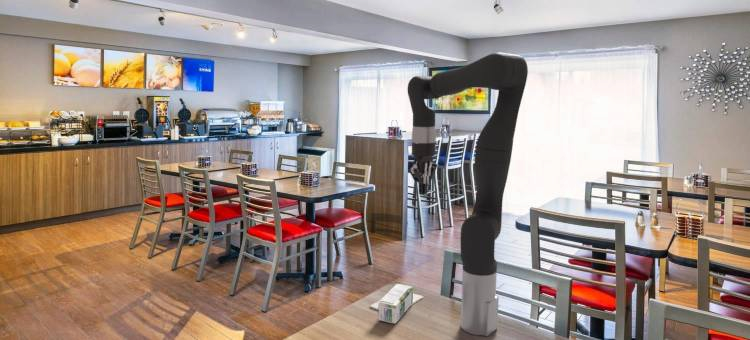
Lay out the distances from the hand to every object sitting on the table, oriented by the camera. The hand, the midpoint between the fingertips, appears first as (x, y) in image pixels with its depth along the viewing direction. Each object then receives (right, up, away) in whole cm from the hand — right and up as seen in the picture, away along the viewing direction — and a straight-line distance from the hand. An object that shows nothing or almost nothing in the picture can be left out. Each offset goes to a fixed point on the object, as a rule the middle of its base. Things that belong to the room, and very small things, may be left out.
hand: (423, 194), depth 151 cm
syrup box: (-6, -31, -4) cm, 32 cm away
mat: (-8, -34, -3) cm, 35 cm away
